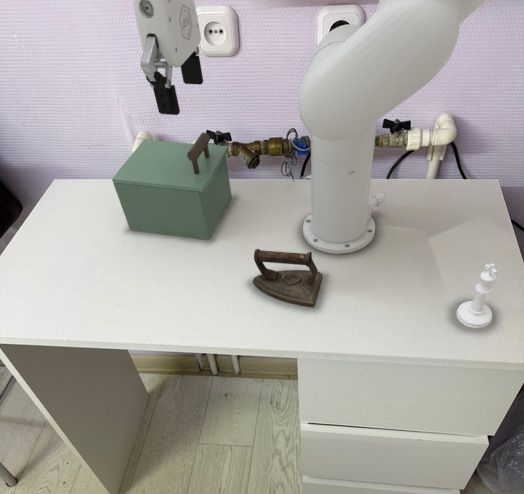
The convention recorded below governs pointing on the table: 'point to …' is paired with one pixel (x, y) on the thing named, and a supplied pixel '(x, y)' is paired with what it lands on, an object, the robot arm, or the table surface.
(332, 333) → the table surface
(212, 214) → the bin
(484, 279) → the chess piece
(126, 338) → the table surface
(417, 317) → the table surface
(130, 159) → the bin lid
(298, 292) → the clothes iron
